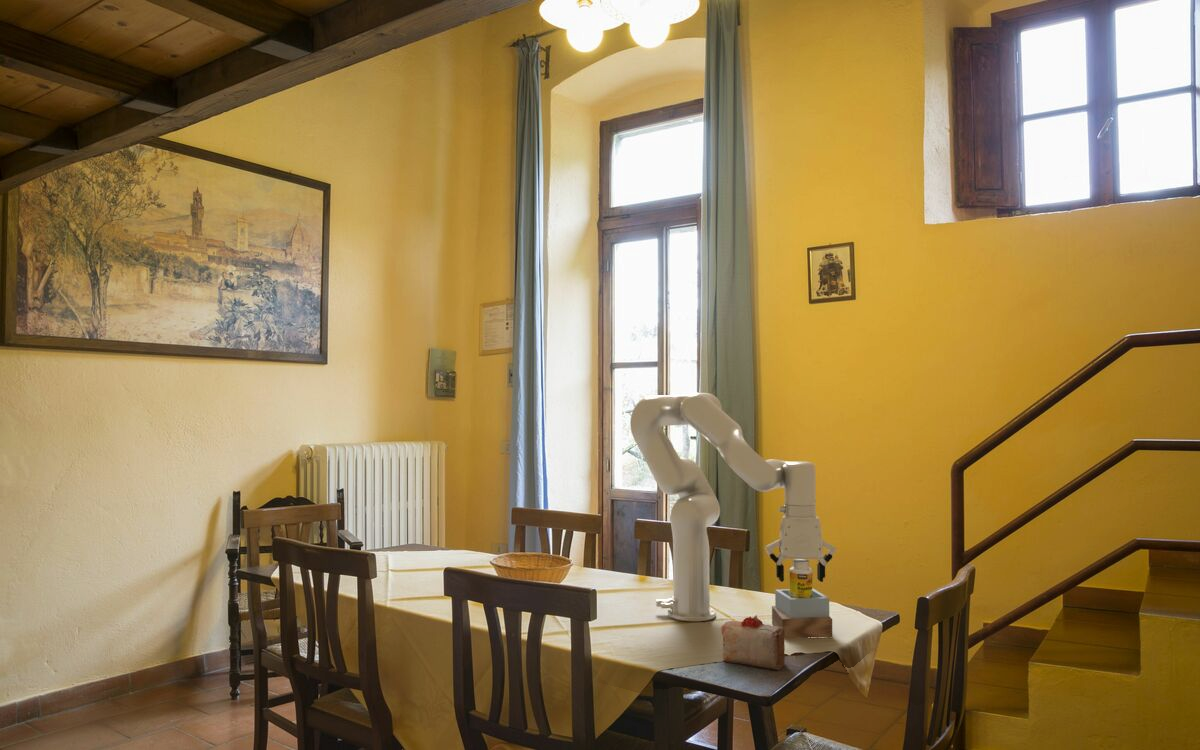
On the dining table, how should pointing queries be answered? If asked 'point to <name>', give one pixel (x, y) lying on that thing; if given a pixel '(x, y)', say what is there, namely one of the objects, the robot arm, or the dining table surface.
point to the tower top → (802, 605)
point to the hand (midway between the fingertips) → (800, 580)
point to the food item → (753, 643)
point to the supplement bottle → (800, 579)
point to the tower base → (802, 625)
